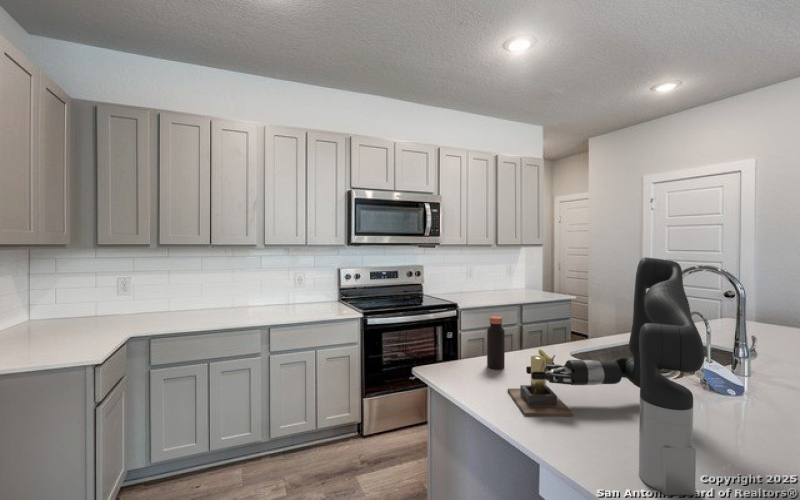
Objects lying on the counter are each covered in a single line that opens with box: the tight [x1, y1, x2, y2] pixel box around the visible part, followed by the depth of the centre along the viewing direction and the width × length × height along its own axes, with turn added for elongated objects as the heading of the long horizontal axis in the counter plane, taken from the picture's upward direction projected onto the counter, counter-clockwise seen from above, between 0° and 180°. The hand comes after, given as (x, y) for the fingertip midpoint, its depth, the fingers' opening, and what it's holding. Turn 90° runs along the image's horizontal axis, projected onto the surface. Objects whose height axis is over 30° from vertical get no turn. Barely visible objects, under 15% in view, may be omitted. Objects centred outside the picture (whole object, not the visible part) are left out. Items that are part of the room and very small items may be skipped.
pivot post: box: [530, 355, 547, 394], centre depth 120 cm, size 4×4×12 cm
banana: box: [538, 349, 556, 363], centre depth 161 cm, size 10×2×4 cm, turn 15°
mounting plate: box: [507, 384, 574, 417], centre depth 120 cm, size 18×14×4 cm
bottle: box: [486, 315, 506, 370], centre depth 154 cm, size 7×7×20 cm
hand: (529, 372), depth 120 cm, fingers closed on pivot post, 4 cm apart
